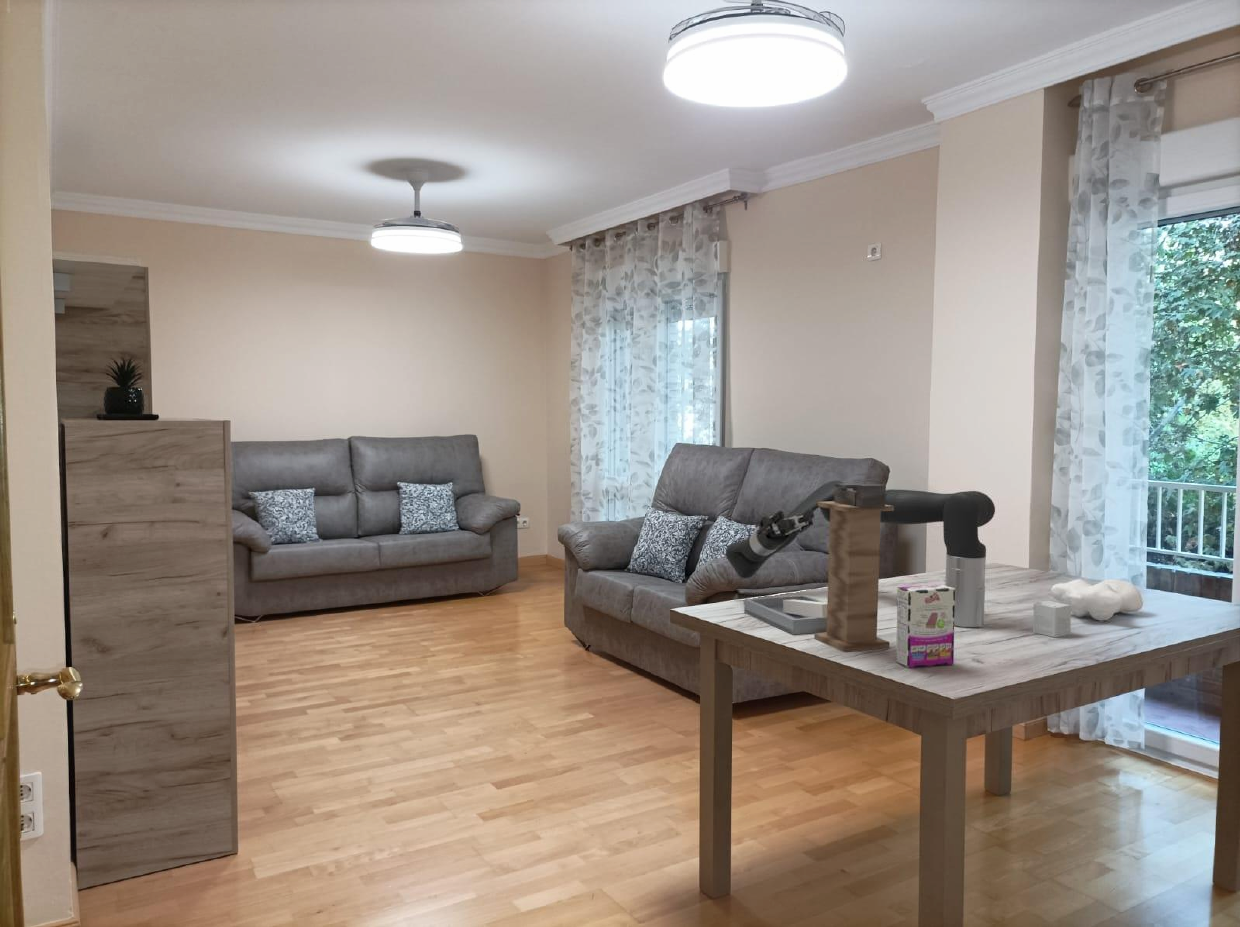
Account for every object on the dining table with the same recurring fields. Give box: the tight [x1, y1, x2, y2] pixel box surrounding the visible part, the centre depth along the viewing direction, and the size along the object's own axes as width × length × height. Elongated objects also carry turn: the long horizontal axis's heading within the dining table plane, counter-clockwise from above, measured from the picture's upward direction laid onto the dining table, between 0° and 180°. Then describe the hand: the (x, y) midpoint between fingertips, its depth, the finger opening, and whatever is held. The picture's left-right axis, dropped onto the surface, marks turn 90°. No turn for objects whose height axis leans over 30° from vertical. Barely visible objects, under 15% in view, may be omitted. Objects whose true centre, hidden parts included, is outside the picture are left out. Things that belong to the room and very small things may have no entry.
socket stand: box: [813, 482, 894, 653], centre depth 209 cm, size 13×12×37 cm
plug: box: [783, 599, 827, 618], centre depth 227 cm, size 19×3×3 cm, turn 19°
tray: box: [743, 594, 827, 636], centre depth 231 cm, size 24×18×4 cm
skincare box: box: [1032, 600, 1072, 638], centre depth 221 cm, size 6×6×7 cm
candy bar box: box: [895, 584, 955, 669], centre depth 194 cm, size 11×5×16 cm, turn 105°
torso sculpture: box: [1050, 578, 1144, 621], centre depth 239 cm, size 18×10×25 cm
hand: (797, 513), depth 231 cm, fingers open, 8 cm apart
